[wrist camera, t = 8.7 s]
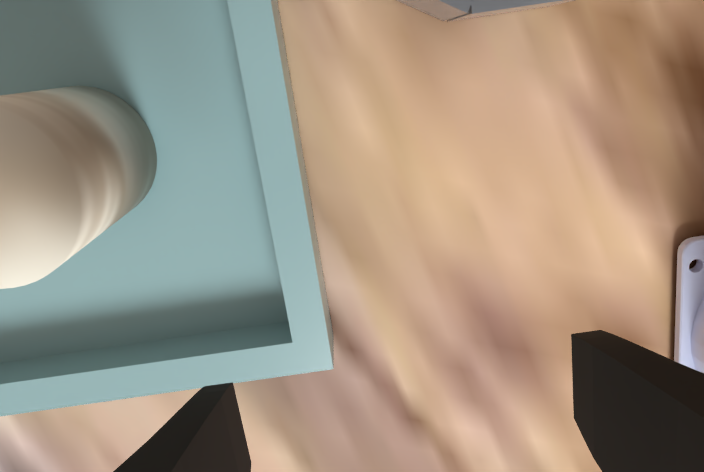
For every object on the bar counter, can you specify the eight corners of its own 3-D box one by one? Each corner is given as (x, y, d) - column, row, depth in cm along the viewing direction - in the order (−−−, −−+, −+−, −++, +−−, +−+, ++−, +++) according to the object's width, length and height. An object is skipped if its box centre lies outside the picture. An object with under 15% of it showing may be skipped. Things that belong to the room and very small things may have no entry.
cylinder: (171, 209, 20) (103, 274, 14) (43, 228, 20) (-77, 301, 14) (137, 75, 18) (47, 87, 12) (1, 96, 18) (-151, 117, 13)
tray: (333, 335, 22) (333, 369, 20) (-130, 401, 22) (-185, 442, 20) (253, -143, 17) (241, -175, 15) (-335, -54, 17) (-440, -71, 15)
